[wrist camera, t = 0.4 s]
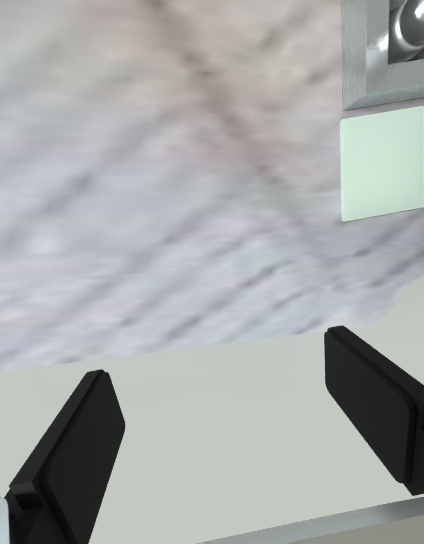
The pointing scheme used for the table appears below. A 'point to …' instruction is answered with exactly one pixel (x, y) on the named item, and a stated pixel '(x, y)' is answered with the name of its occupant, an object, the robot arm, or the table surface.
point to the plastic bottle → (406, 31)
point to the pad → (382, 163)
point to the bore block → (374, 58)
